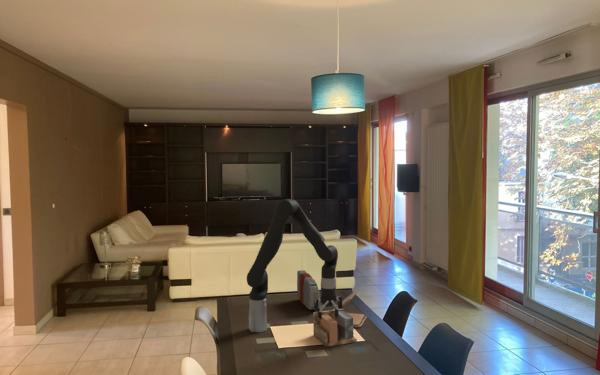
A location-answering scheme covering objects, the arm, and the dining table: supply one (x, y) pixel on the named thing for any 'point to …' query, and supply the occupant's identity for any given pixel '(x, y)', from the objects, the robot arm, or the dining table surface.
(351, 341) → the shelf
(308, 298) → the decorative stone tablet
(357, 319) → the case
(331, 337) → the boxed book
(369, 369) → the dining table surface
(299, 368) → the dining table surface
